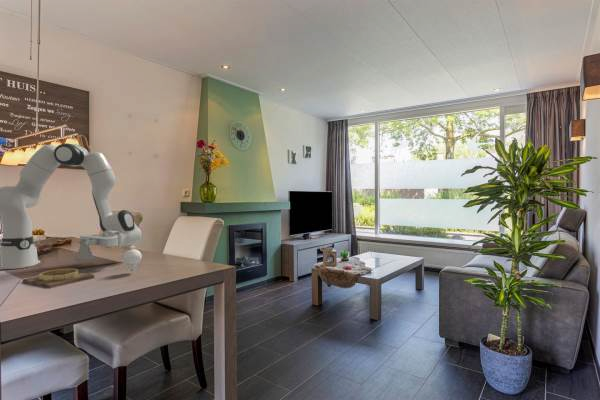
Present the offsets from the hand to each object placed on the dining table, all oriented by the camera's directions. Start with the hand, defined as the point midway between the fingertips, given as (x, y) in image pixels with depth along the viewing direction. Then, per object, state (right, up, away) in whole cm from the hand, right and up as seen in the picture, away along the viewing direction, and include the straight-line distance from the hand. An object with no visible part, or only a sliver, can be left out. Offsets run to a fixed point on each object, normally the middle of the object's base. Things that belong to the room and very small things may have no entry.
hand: (82, 242), depth 155 cm
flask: (0, -8, +1) cm, 8 cm away
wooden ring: (+1, -12, -15) cm, 20 cm away
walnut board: (+1, -14, -15) cm, 21 cm away
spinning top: (+25, -13, -4) cm, 29 cm away
